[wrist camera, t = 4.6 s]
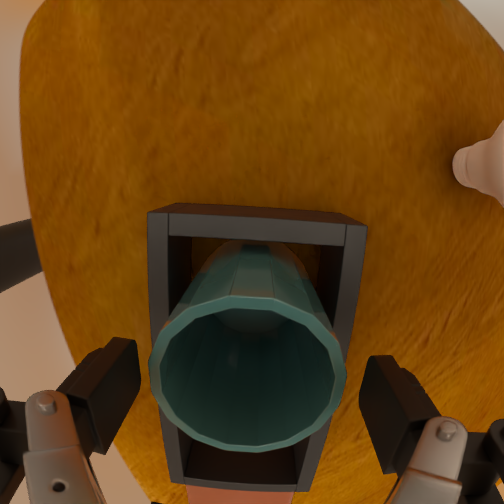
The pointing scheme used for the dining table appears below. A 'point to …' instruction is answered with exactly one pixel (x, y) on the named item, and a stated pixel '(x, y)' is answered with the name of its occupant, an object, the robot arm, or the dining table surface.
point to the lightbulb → (483, 165)
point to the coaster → (235, 496)
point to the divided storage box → (330, 295)
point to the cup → (248, 352)
